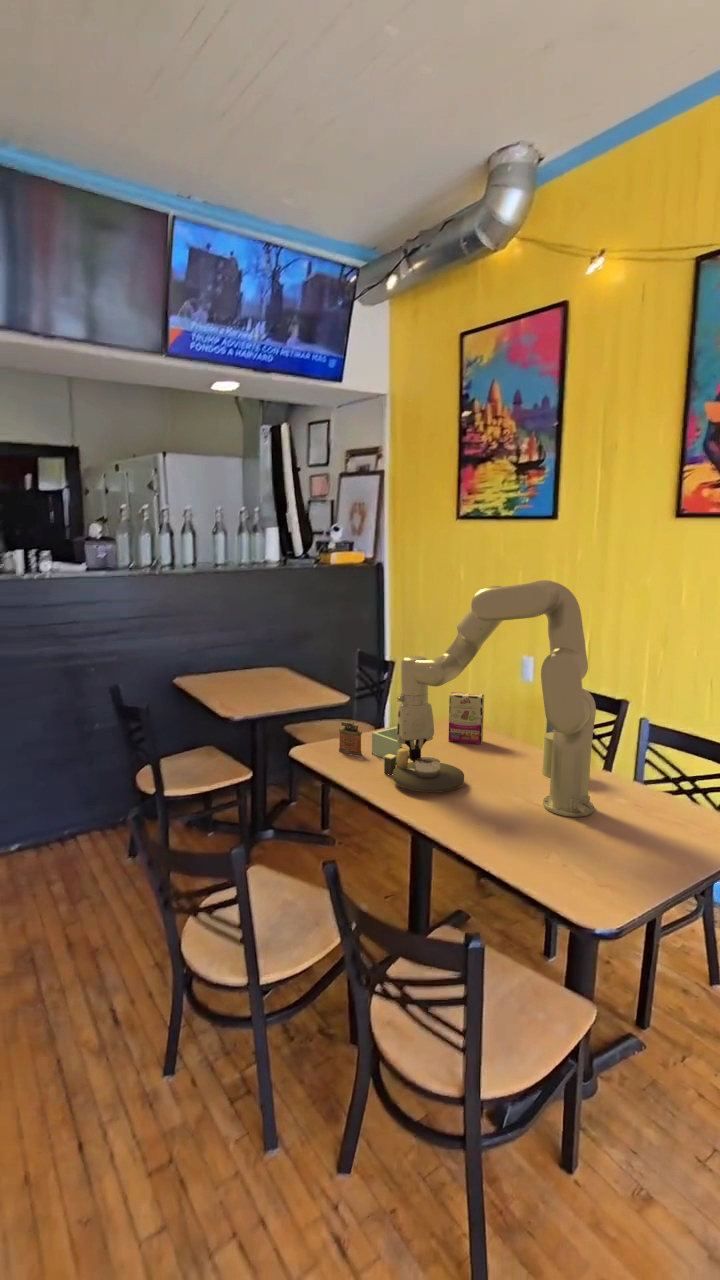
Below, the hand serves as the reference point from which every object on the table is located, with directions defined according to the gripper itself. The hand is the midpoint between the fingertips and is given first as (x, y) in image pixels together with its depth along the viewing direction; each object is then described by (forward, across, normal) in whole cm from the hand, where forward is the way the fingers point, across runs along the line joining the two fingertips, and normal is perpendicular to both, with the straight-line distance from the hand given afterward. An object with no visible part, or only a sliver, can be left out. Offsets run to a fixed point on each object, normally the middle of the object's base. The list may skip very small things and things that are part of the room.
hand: (415, 760), depth 198 cm
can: (+6, +41, -10) cm, 43 cm away
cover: (+2, 0, -8) cm, 8 cm away
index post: (+4, -6, +4) cm, 9 cm away
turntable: (+3, +1, -7) cm, 8 cm away
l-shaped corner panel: (+5, +2, +19) cm, 20 cm away
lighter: (+4, -12, +25) cm, 28 cm away
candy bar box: (+5, +29, +26) cm, 39 cm away
